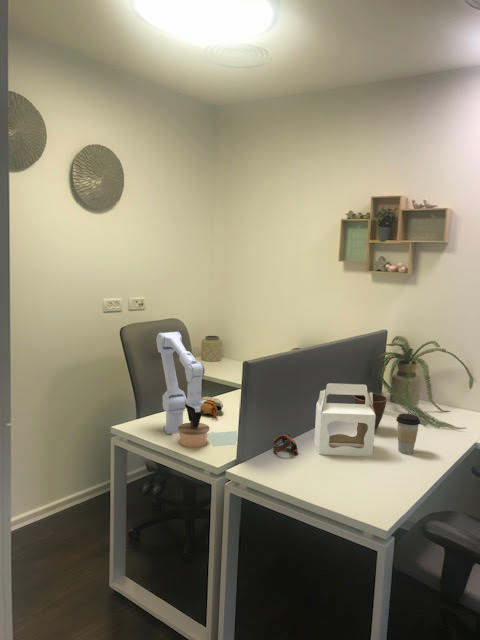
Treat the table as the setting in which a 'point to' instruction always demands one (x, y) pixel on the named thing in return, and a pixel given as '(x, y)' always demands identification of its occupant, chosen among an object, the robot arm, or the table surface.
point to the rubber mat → (222, 438)
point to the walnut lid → (193, 428)
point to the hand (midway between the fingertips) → (193, 423)
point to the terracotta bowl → (193, 440)
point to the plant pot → (374, 405)
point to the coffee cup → (407, 432)
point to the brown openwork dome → (287, 443)
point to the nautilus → (211, 406)
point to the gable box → (345, 413)
